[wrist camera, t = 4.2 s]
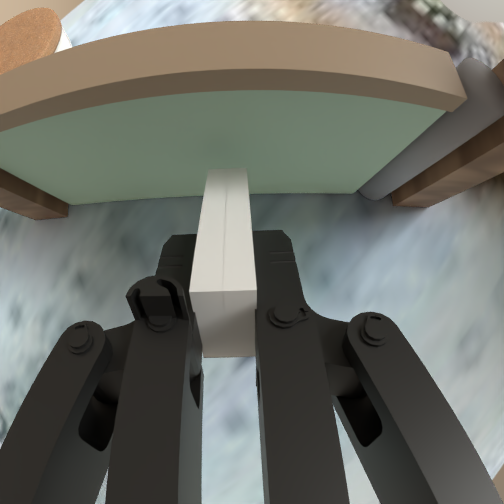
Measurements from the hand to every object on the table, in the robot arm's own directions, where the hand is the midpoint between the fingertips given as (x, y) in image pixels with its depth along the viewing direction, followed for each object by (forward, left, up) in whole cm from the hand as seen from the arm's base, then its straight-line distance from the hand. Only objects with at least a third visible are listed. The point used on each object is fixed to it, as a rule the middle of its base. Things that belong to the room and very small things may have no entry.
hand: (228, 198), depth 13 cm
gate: (0, -3, -6) cm, 7 cm away
